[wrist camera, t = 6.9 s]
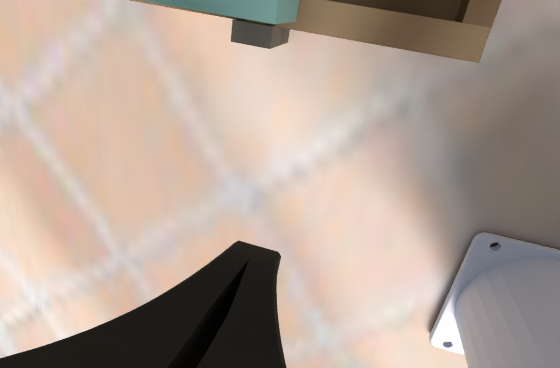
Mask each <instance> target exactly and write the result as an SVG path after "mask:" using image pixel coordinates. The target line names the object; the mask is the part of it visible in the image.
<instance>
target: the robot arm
mask: <svg viewBox="0 0 560 368" xmlns="http://www.w3.org/2000/svg"><path fill="white" fill-rule="evenodd" d="M494 242H498V243H499V244H498V245H497V246H495V247H490V245H491V244H492V243H494ZM280 259H281V255H280V254H279V252H277V251H273V250H270V249H266V248H262V247H259V246H255V245H252V244H248V243H245V242H241V241H237V242H235V243H234V244H233V245H231V246H230V247H229V248H228V249H226V250H225V251H224V252H223V253H222V254H220V255H219V256H218V257H216V258H215V259H214V260H212V261H211V262H210V263H208V264H207V265H206V266H204V267H203V268H201V269H200V270H199V271H197V272H196V273H194V274H193V275H192V276H190V277H189V278H187V279H186V280H184V281H183V282H181V283H179V284H178V285H176V286H175V287H173V288H171V289H170V290H168V291H167V292H165V293H163V294H162V295H160V296H158V297H156V298H155V299H153V300H151V301H149V302H147V303H146V304H144V305H142V306H140V307H138V308H136V309H134V310H132V311H130V312H128V313H126V314H124V315H121V316H119V317H117V318H115V319H113V320H111V321H108V322H106V323H104V324H101V325H99V326H97V327H94V328H92V329H89V330H87V331H84V332H82V333H79V334H76V335H73V336H71V337H68V338H65V339H62V340H59V341H56V342H53V343H51V344H48V345H45V346H41V347H38V348H35V349H32V350H28V351H25V352H21V353H18V354H14V355H11V356H7V357H4V358H0V368H286V364H285V359H284V354H283V349H282V343H281V337H280V330H279V322H278V312H277V293H276V283H277V273H278V268H279V264H280ZM429 339H430V343H431V344H432V345H433V346H435V347H437V348H441V349H444V350H448V351H452V352H455V353H459V354H462V355H465V358H466V362H467V365H468V368H560V250H559V249H554V248H550V247H546V246H542V245H537V244H533V243H529V242H525V241H521V240H516V239H512V238H508V237H504V236H499V235H495V234H491V233H486V232H482V233H479V234H477V235H475V237H474V238H473V240H472V242H471V245H470V247H469V249H468V251H467V253H466V256H465V258H464V260H463V262H462V264H461V267H460V269H459V271H458V273H457V276H456V278H455V280H454V282H453V284H452V287H451V289H450V291H449V293H448V295H447V298H446V300H445V302H444V304H443V307H442V309H441V311H440V313H439V315H438V318H437V320H436V322H435V324H434V326H433V329H432V331H431V333H430V336H429ZM445 341H450V342H448V343H447V342H445Z"/></svg>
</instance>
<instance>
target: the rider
mask: <svg viewBox="0 0 560 368" xmlns="http://www.w3.org/2000/svg"><path fill="white" fill-rule="evenodd" d="M141 1H147V2H152V3H158V4H164V5H169V6H175V7H181V8H186V9H192V10H197V11H203V12H209V13H214V14H220V15H225V16H231V17H237V18H242V19H248V20H253V21H259V22H265V23H270V24H282V23H290V22H296V18H297V12H298V5H299V0H141Z"/></svg>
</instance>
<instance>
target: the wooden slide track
mask: <svg viewBox="0 0 560 368" xmlns="http://www.w3.org/2000/svg"><path fill="white" fill-rule="evenodd" d="M131 1H136V2H142V3H148V4H153V5H159V6H164V7H170V8H175V9H181V10H187V11H192V12H198V13H203V14H209V15H215V16H220V17H226V18H231V19H237V20H233V23H232V34H231V42H236V43H242V44H247V45H252V46H258V47H263V48H268V49H271V48H273V47H276V46H279V45H282V44H285V43H287V42H288V37H289V30H290V29H293V30H298V31H304V32H309V33H315V34H321V35H326V36H332V37H337V38H343V39H349V40H354V41H360V42H365V43H371V44H376V45H382V46H388V47H393V48H399V49H404V50H410V51H416V52H421V53H427V54H432V55H438V56H443V57H449V58H455V59H460V60H466V61H471V62H477V63H479V60H480V58H481V55H482V52H483V49H484V47H485V44H486V41H487V38H488V36H489V33H490V30H491V28H492V25H493V22H494V19H495V17H496V14H497V11H498V9H499V6H500V3H501V0H299V5H298V12H297V18H296V22H290V23H282V24H270V23H265V22H259V21H253V20H248V19H242V18H237V17H231V16H225V15H220V14H214V13H209V12H203V11H197V10H192V9H186V8H181V7H175V6H169V5H164V4H158V3H152V2H147V1H141V0H131Z"/></svg>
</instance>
